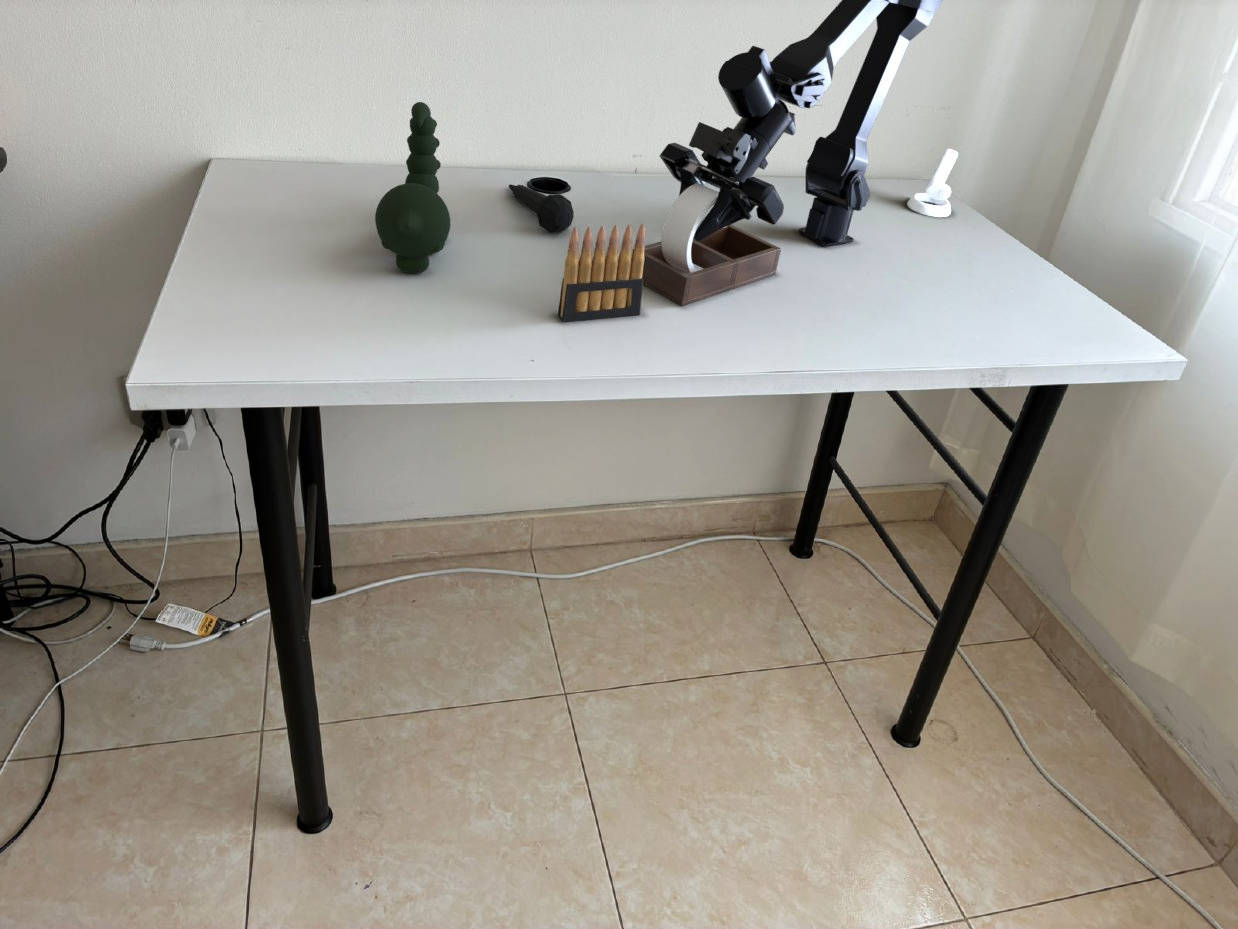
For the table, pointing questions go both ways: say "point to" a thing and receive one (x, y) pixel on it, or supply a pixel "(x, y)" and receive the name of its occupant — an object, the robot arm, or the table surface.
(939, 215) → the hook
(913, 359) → the table surface
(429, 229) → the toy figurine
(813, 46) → the robot arm
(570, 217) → the microphone
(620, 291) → the ammunition clip
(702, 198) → the headphone stand
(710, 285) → the divided wooden tray
